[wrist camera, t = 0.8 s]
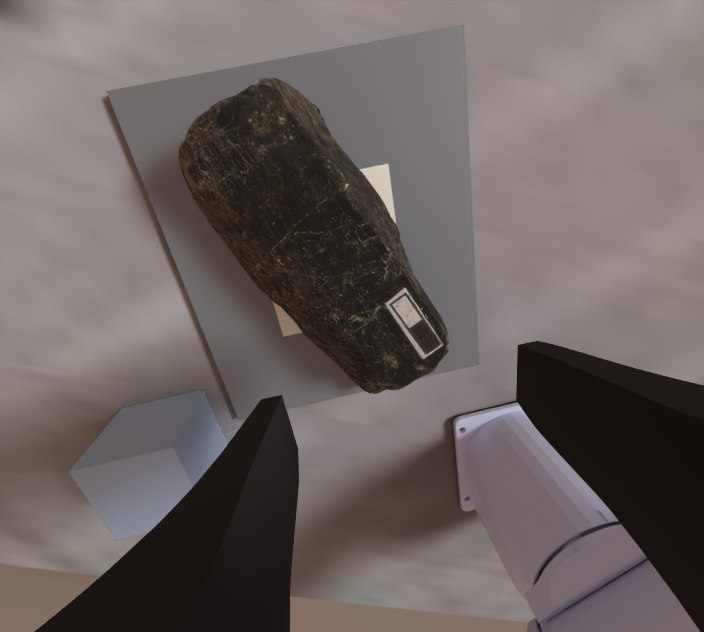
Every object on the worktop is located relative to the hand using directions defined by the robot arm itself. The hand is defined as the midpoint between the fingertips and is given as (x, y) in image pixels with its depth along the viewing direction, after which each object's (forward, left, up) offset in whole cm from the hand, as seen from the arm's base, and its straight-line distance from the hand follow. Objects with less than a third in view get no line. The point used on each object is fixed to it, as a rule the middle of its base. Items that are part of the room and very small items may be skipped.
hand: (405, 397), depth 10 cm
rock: (+3, +1, -10) cm, 10 cm away
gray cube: (-6, +13, -10) cm, 18 cm away
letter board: (+3, +1, -10) cm, 11 cm away
